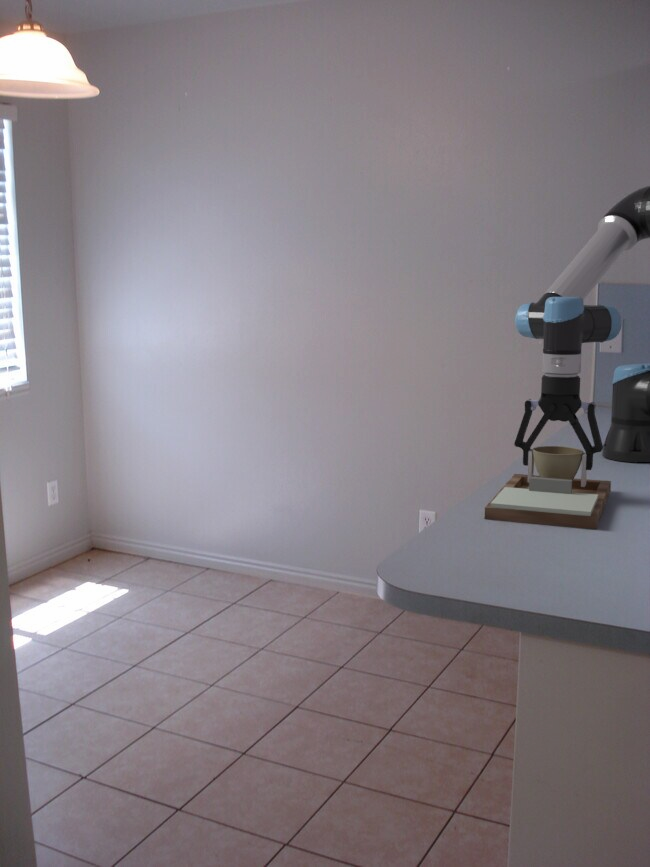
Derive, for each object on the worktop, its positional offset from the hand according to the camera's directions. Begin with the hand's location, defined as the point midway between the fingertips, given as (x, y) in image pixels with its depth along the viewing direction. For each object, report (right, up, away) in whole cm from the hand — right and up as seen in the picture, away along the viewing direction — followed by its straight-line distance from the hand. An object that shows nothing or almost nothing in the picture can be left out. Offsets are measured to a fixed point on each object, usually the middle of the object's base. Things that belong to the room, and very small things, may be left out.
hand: (556, 483), depth 193 cm
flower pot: (0, 0, 0) cm, 0 cm away
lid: (-6, -3, -14) cm, 15 cm away
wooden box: (-3, -4, -6) cm, 8 cm away
